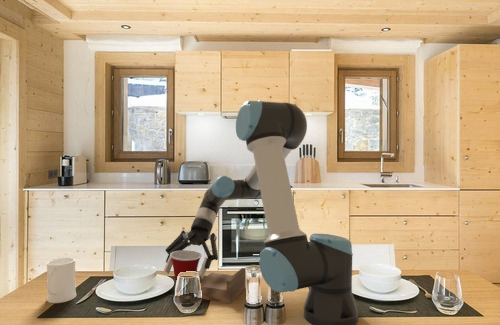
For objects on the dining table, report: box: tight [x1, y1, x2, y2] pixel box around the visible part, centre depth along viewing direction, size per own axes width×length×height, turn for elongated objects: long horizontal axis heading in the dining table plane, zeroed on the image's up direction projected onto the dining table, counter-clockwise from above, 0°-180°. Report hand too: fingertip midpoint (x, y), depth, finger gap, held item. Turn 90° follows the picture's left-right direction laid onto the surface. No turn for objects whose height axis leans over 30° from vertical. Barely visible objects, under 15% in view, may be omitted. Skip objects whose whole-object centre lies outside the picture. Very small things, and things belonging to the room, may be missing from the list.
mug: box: [46, 257, 77, 304], centre depth 116 cm, size 12×8×12 cm
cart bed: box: [199, 267, 246, 304], centre depth 121 cm, size 13×13×7 cm
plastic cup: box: [170, 249, 202, 281], centre depth 125 cm, size 11×11×12 cm
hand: (183, 274), depth 124 cm, fingers open, 13 cm apart
